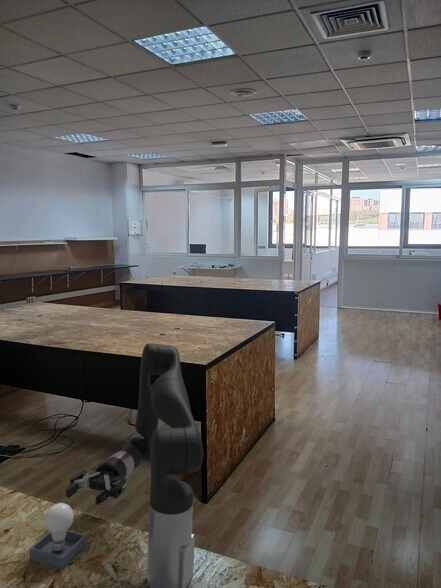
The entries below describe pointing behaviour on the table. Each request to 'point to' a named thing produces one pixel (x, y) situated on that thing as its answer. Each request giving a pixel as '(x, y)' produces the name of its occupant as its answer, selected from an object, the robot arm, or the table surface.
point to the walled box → (57, 558)
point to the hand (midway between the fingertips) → (82, 497)
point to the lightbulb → (59, 523)
